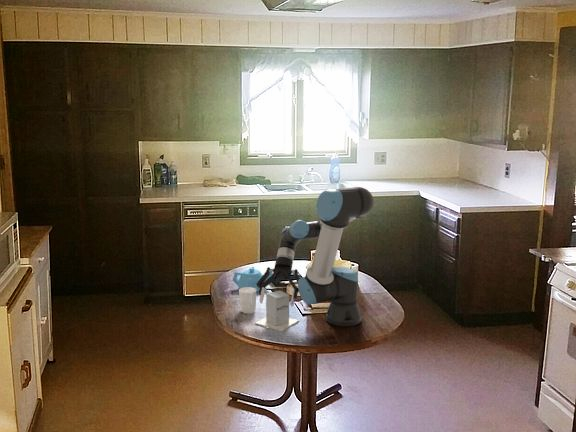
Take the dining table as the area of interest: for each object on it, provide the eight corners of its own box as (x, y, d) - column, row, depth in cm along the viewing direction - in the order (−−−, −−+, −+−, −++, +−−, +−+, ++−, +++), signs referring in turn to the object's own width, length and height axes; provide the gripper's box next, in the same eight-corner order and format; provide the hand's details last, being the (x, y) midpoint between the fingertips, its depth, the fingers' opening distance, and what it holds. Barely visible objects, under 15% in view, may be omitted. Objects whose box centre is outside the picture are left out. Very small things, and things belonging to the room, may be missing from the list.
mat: (298, 321, 268) (299, 320, 268) (281, 331, 257) (281, 330, 257) (272, 314, 275) (272, 313, 275) (255, 324, 265) (254, 322, 265)
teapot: (254, 281, 320) (253, 261, 317) (273, 289, 309) (273, 268, 307) (230, 288, 309) (230, 268, 307) (250, 296, 299) (249, 275, 296)
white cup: (254, 314, 276) (253, 293, 273) (237, 313, 277) (236, 292, 275) (258, 308, 283) (258, 287, 281) (241, 307, 285) (241, 286, 282)
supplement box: (275, 326, 261) (275, 298, 258) (265, 320, 267) (265, 293, 264) (289, 322, 265) (289, 294, 263) (279, 317, 271) (279, 289, 269)
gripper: (313, 265, 275) (306, 309, 264) (259, 261, 281) (250, 304, 270) (311, 257, 269) (303, 302, 258) (255, 253, 275) (246, 297, 264)
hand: (276, 303), depth 264 cm, fingers open, 13 cm apart
